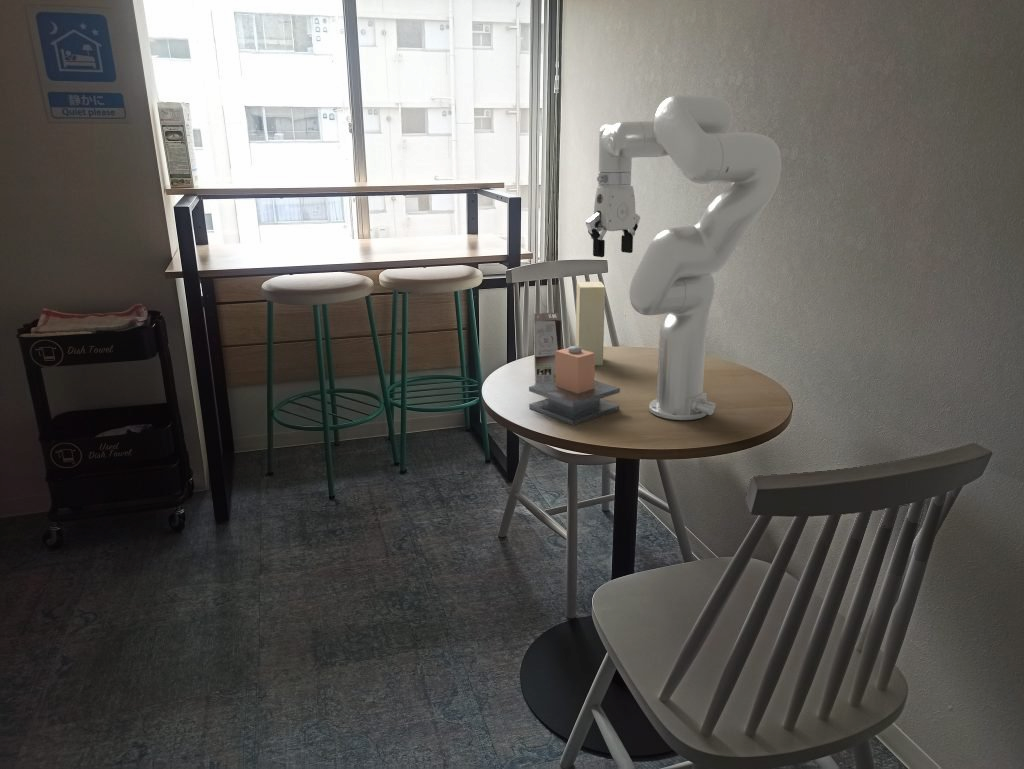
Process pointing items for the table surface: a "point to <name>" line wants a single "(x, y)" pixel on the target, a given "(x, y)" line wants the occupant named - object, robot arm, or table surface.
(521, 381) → the table surface
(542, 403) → the stand
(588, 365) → the block
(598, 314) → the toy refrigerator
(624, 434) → the table surface
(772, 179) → the robot arm
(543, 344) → the coffee box
